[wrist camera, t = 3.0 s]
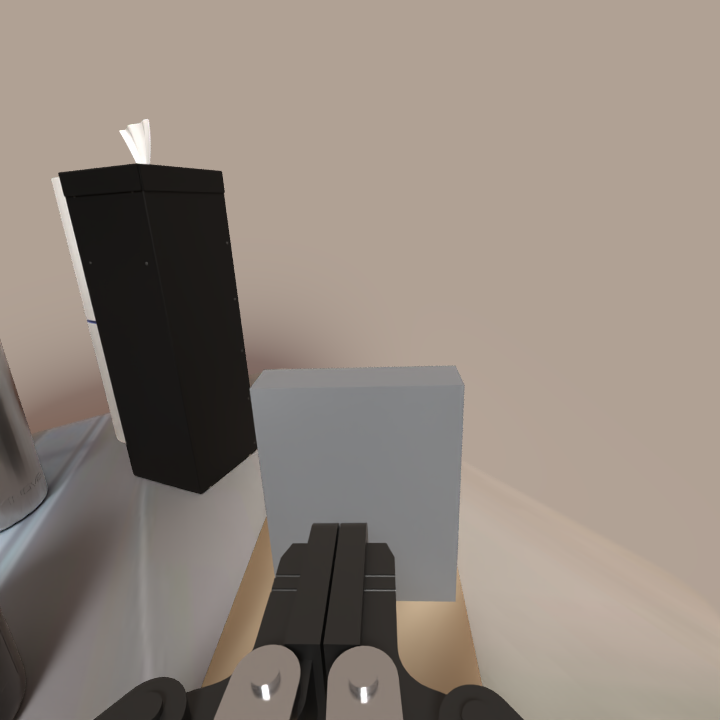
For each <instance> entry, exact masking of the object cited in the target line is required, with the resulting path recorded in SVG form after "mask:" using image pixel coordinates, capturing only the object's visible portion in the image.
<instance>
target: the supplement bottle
mask: <svg viewBox="0 0 720 720" xmlns="http://www.w3.org/2000/svg"><path fill="white" fill-rule="evenodd" d="M25 686H26V673H25V669H24V665H23V663H22V660H21V657H20V655H19V652H18V649H17V647H16V645H15V642H14V640H13V637H12V635H11V632H10V630H9V628H8V625H7V623H6V620H5V618H4V615H3V613H2V611H1V608H0V720H13V719H14V717H15V715H16V713H17V711H18V709H19V707H20V704H21V702H22V699H23V696H24V692H25Z"/></svg>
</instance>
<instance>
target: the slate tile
mask: <svg viewBox="0 0 720 720" xmlns="http://www.w3.org/2000/svg"><path fill="white" fill-rule="evenodd" d="M250 396H251V403H252V411H253V418H254V426H255V433H256V440H257V448H258V455H259V463H260V470H261V478H262V485H263V493H264V500H265V507H266V515H267V522H268V530H269V537H270V545H271V552H272V560H273V567H274V574H275V578H276V572H277V569H278V565H279V562H280V559H281V557H282V556H283V554H284V553H285V552H286V551H287V550H288V548H289V547H290V546H291V545H292V544H293V543H308V539H309V535H310V531H311V527H312V524H313V523H339V524H341V523H367V525H368V543H387V545H388V547H389V548H390V550H391V552H392V554H393V555H394V557H395V582H396V601H435V602H456V578H457V554H458V530H459V505H460V481H461V457H462V432H463V408H464V383H463V381H462V379H461V377H460V374H459V372H458V370H457V368H456V366H417V367H416V366H415V367H374V368H373V367H369V368H322V369H321V368H320V369H273V370H263V372H262V373H261V374H260V376H259V377H258V378H257V380H256V381H255V382H254V384H253V385H252V386H251V388H250Z"/></svg>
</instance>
